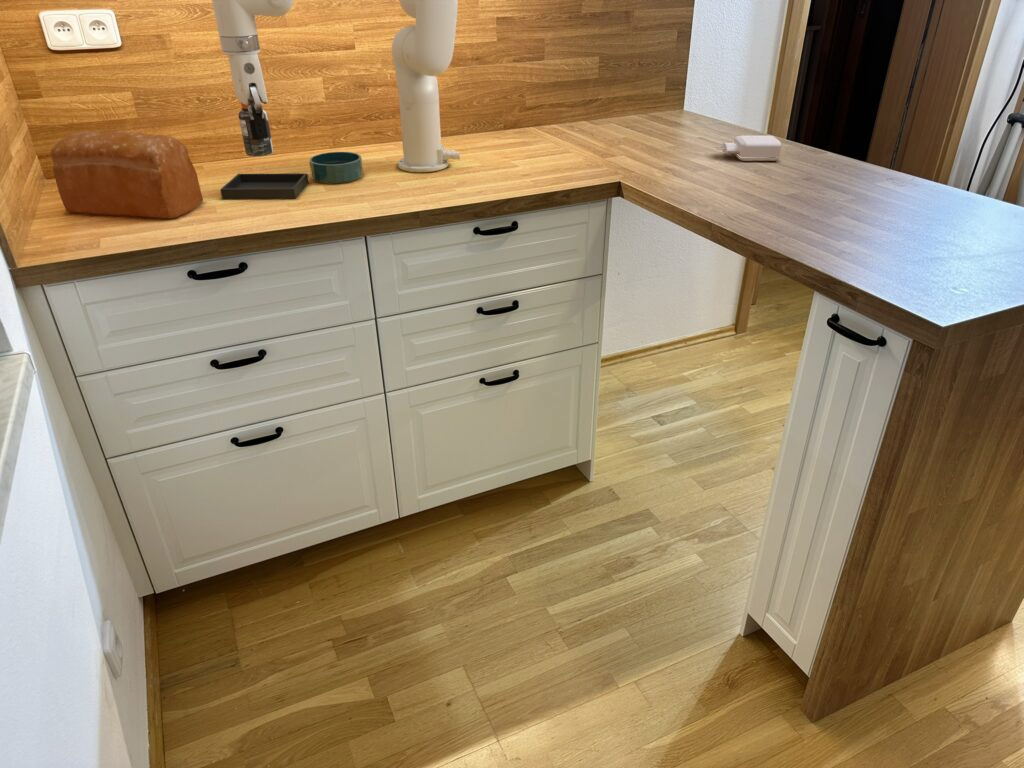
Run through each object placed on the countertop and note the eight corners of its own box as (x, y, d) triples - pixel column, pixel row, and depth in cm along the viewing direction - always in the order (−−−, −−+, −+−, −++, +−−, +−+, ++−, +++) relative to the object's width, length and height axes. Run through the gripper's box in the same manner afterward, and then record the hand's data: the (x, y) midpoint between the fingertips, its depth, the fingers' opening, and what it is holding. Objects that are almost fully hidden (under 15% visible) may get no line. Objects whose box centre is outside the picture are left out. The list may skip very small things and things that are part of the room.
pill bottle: (278, 150, 164) (269, 97, 158) (267, 157, 159) (258, 102, 153) (252, 149, 164) (242, 96, 158) (241, 156, 159) (230, 102, 153)
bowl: (367, 170, 180) (365, 151, 177) (358, 184, 170) (356, 165, 167) (318, 170, 180) (315, 151, 177) (306, 184, 170) (303, 165, 167)
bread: (102, 195, 164) (79, 122, 155) (209, 201, 160) (192, 127, 151) (59, 215, 152) (32, 137, 144) (173, 222, 148) (153, 143, 140)
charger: (710, 152, 192) (768, 152, 192) (718, 162, 184) (778, 162, 184) (713, 134, 190) (771, 134, 190) (721, 143, 182) (782, 143, 182)
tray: (308, 182, 171) (307, 173, 170) (295, 198, 161) (294, 189, 160) (239, 182, 171) (237, 173, 170) (222, 199, 161) (220, 189, 160)
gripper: (269, 48, 145) (284, 141, 155) (249, 39, 158) (264, 125, 167) (230, 51, 142) (248, 146, 151) (213, 41, 155) (230, 129, 164)
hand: (256, 134), depth 159 cm, fingers closed on pill bottle, 6 cm apart
